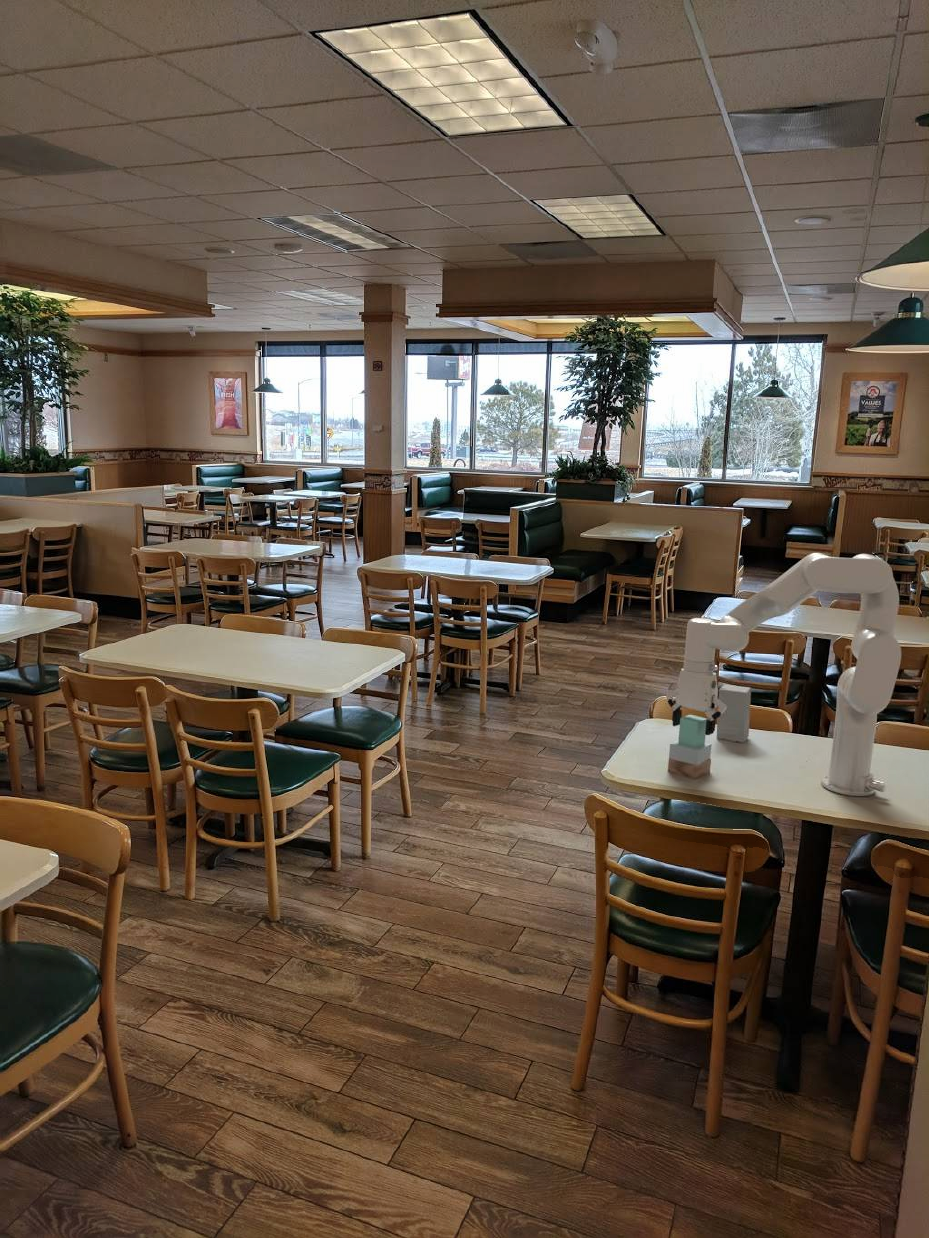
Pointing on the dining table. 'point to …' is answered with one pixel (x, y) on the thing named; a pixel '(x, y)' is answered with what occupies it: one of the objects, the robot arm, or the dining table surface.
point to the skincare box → (734, 713)
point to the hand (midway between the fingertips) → (692, 729)
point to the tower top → (690, 753)
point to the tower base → (689, 768)
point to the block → (692, 731)
